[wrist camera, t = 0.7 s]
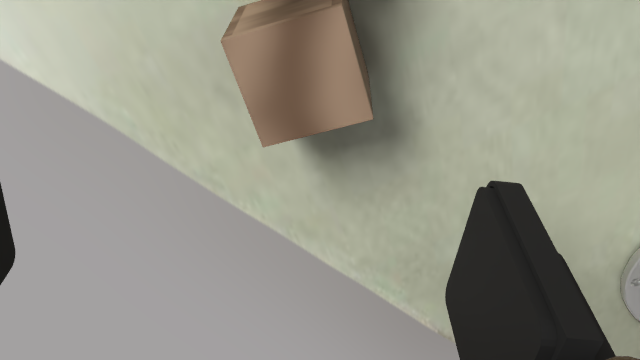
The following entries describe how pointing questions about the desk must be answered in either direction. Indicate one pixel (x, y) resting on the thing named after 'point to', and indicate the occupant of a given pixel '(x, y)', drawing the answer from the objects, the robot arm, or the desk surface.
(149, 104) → the desk surface
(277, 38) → the brown open box
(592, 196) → the desk surface
